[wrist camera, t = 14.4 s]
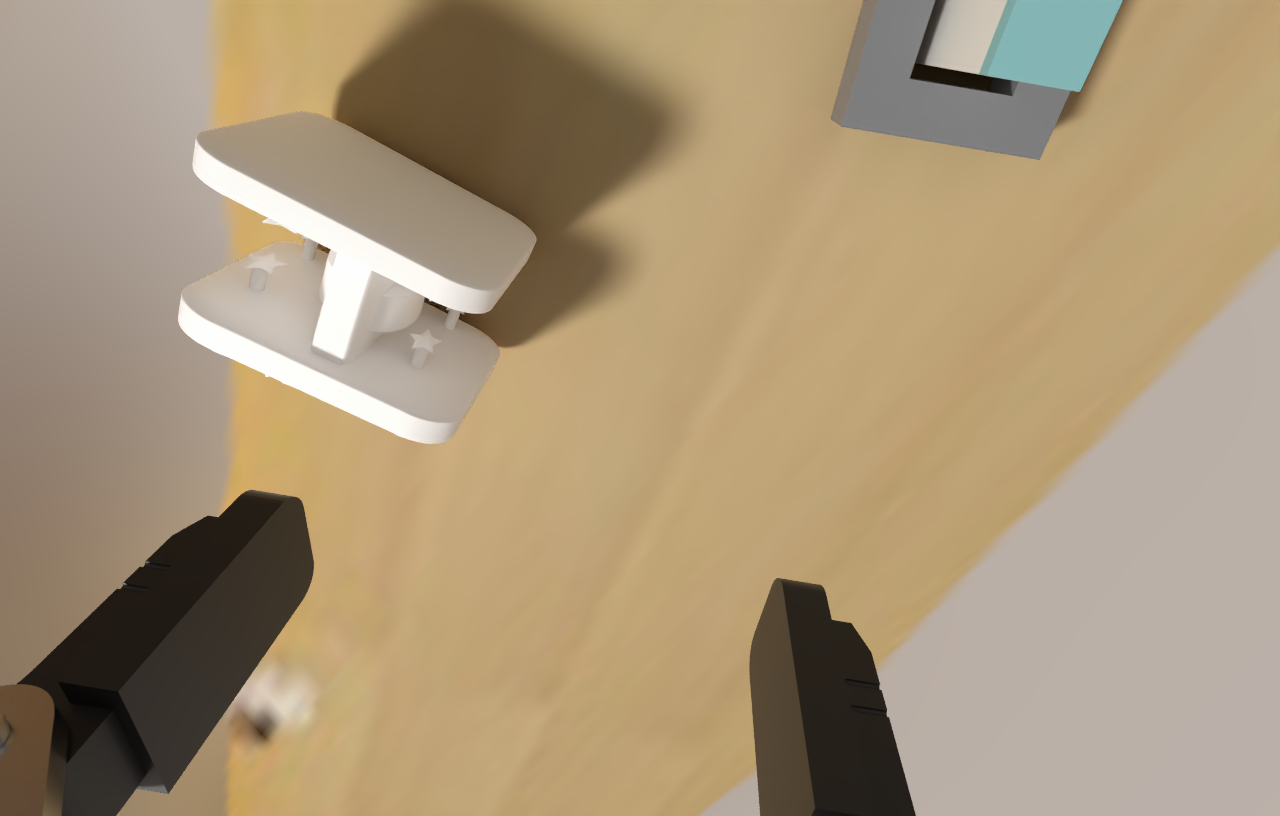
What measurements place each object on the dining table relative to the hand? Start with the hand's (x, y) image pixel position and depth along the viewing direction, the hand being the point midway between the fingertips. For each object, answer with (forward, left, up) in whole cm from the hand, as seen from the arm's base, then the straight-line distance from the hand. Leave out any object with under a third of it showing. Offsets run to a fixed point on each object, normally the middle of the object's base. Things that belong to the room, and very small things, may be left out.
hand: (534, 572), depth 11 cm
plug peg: (-10, +14, -30) cm, 35 cm away
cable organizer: (+6, -14, -30) cm, 34 cm away
